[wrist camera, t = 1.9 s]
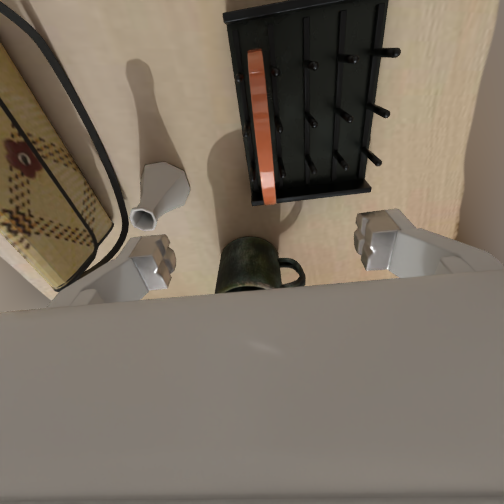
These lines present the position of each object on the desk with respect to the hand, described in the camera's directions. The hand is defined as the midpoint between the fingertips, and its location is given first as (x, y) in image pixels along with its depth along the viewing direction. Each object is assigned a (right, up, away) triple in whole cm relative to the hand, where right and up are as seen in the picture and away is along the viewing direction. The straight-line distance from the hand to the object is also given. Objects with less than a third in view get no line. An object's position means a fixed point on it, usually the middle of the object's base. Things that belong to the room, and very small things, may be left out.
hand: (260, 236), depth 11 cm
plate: (+1, +11, +15) cm, 19 cm away
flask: (-13, +9, +27) cm, 32 cm away
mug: (+1, -1, +35) cm, 35 cm away
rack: (+6, +17, +21) cm, 28 cm away
